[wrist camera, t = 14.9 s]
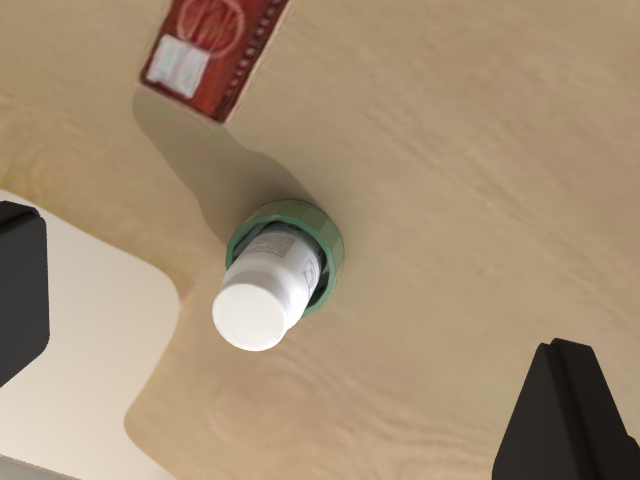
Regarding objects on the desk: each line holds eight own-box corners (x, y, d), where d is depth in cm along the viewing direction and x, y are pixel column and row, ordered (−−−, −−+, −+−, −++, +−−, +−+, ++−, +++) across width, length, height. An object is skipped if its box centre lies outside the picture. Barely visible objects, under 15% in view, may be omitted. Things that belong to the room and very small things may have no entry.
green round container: (222, 232, 38) (204, 250, 35) (303, 179, 35) (290, 193, 32) (282, 313, 39) (269, 335, 36) (364, 267, 36) (357, 288, 34)
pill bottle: (241, 254, 38) (186, 316, 30) (284, 203, 36) (237, 256, 28) (296, 300, 38) (257, 373, 30) (342, 252, 36) (312, 318, 28)
